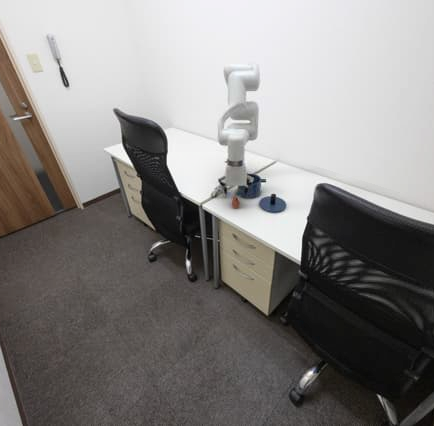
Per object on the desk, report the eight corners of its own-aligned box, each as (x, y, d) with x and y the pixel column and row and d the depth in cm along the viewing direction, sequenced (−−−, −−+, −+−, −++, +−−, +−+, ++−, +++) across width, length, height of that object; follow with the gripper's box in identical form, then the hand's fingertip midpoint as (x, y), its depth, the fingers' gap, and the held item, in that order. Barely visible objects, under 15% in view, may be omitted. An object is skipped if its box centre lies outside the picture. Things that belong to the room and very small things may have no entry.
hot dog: (232, 200, 126) (232, 195, 124) (238, 200, 126) (238, 195, 124) (232, 209, 120) (232, 204, 118) (239, 209, 120) (239, 204, 118)
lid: (257, 198, 127) (258, 188, 124) (282, 197, 127) (284, 187, 124) (261, 213, 117) (261, 203, 113) (288, 212, 116) (290, 202, 113)
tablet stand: (216, 189, 136) (216, 176, 131) (229, 191, 134) (229, 178, 129) (211, 196, 130) (210, 183, 125) (224, 199, 127) (224, 185, 122)
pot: (232, 186, 138) (232, 173, 133) (263, 186, 137) (264, 173, 132) (233, 198, 128) (233, 185, 122) (266, 198, 127) (267, 184, 122)
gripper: (217, 165, 105) (218, 198, 115) (255, 164, 105) (253, 197, 115) (217, 159, 111) (218, 190, 122) (253, 158, 111) (252, 189, 121)
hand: (235, 193), depth 118 cm, fingers open, 9 cm apart
